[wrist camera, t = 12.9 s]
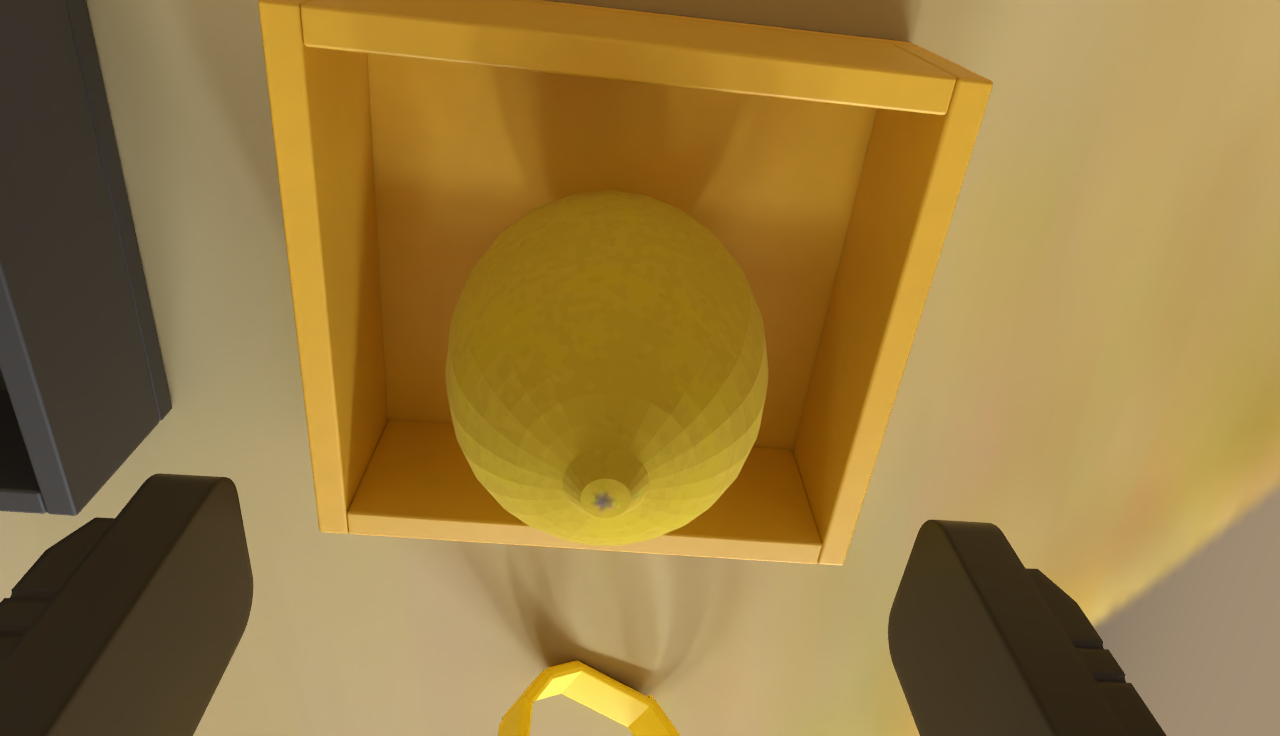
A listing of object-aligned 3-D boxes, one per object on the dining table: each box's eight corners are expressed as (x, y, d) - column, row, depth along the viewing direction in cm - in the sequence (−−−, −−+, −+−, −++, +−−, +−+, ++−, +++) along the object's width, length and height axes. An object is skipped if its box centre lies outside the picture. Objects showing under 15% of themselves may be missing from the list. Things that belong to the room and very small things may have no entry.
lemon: (489, 124, 16) (393, 291, 9) (759, 161, 17) (861, 345, 10) (477, 363, 19) (396, 630, 12) (710, 388, 19) (762, 659, 12)
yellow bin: (371, 422, 20) (318, 532, 17) (340, -24, 15) (256, -2, 12) (806, 455, 21) (844, 567, 18) (912, 42, 16) (996, 81, 13)
